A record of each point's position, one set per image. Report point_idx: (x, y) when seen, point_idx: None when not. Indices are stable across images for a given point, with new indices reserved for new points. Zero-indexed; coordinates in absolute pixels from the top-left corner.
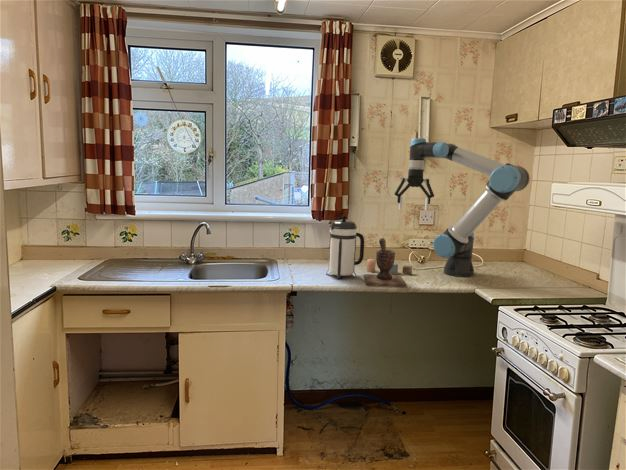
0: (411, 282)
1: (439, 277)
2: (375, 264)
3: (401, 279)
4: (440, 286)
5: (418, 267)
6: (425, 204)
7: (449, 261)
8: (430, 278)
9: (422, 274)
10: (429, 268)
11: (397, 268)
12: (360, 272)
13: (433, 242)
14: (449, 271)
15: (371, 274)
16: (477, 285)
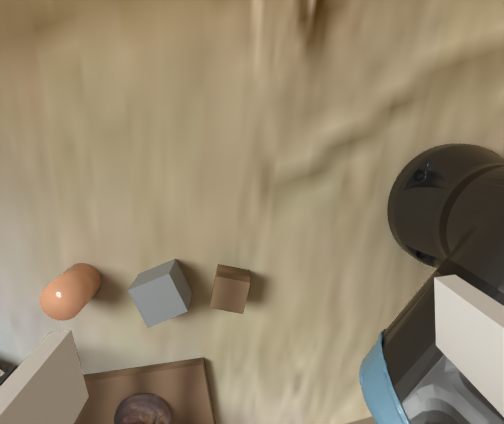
0: (241, 394)
1: (353, 295)
2: (89, 296)
3: (205, 415)
4: (334, 412)
5: (289, 142)
6: (491, 336)
7: (428, 243)
8: (316, 321)
9: (292, 269)
10: (337, 147)
11: (188, 303)
12: (44, 314)
13: (366, 402)
14: (406, 250)
15: (92, 383)
16: None
